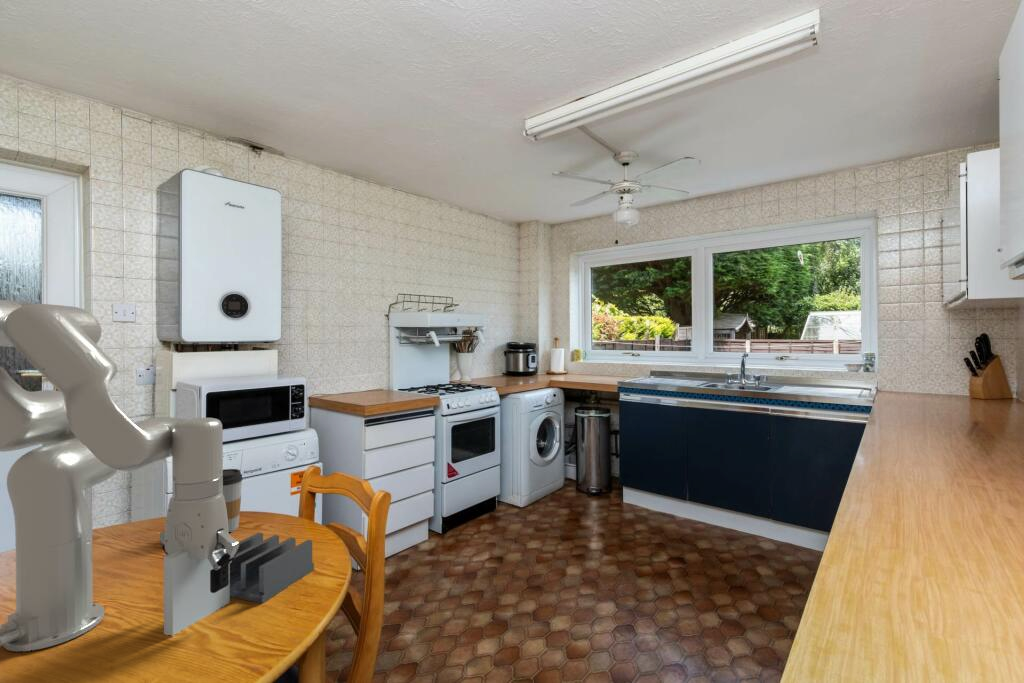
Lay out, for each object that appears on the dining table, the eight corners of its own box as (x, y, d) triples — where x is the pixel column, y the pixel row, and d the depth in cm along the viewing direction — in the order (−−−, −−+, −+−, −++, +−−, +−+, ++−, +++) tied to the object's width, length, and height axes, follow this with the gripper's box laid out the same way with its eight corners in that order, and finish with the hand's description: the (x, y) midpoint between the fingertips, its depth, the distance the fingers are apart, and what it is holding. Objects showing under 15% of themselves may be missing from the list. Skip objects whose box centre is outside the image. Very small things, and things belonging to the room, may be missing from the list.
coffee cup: (250, 526, 129) (250, 469, 129) (223, 538, 121) (223, 478, 121) (225, 523, 131) (224, 467, 131) (197, 535, 123) (197, 475, 123)
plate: (172, 636, 81) (172, 558, 81) (164, 634, 81) (163, 557, 81) (229, 602, 91) (229, 533, 91) (221, 601, 92) (221, 532, 92)
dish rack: (262, 603, 91) (262, 568, 91) (203, 591, 95) (203, 558, 95) (314, 569, 104) (313, 539, 104) (260, 560, 108) (260, 531, 108)
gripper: (141, 490, 85) (141, 587, 85) (216, 500, 80) (217, 603, 80) (181, 478, 92) (182, 568, 92) (253, 486, 87) (254, 582, 87)
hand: (198, 584), depth 86 cm, fingers open, 9 cm apart
